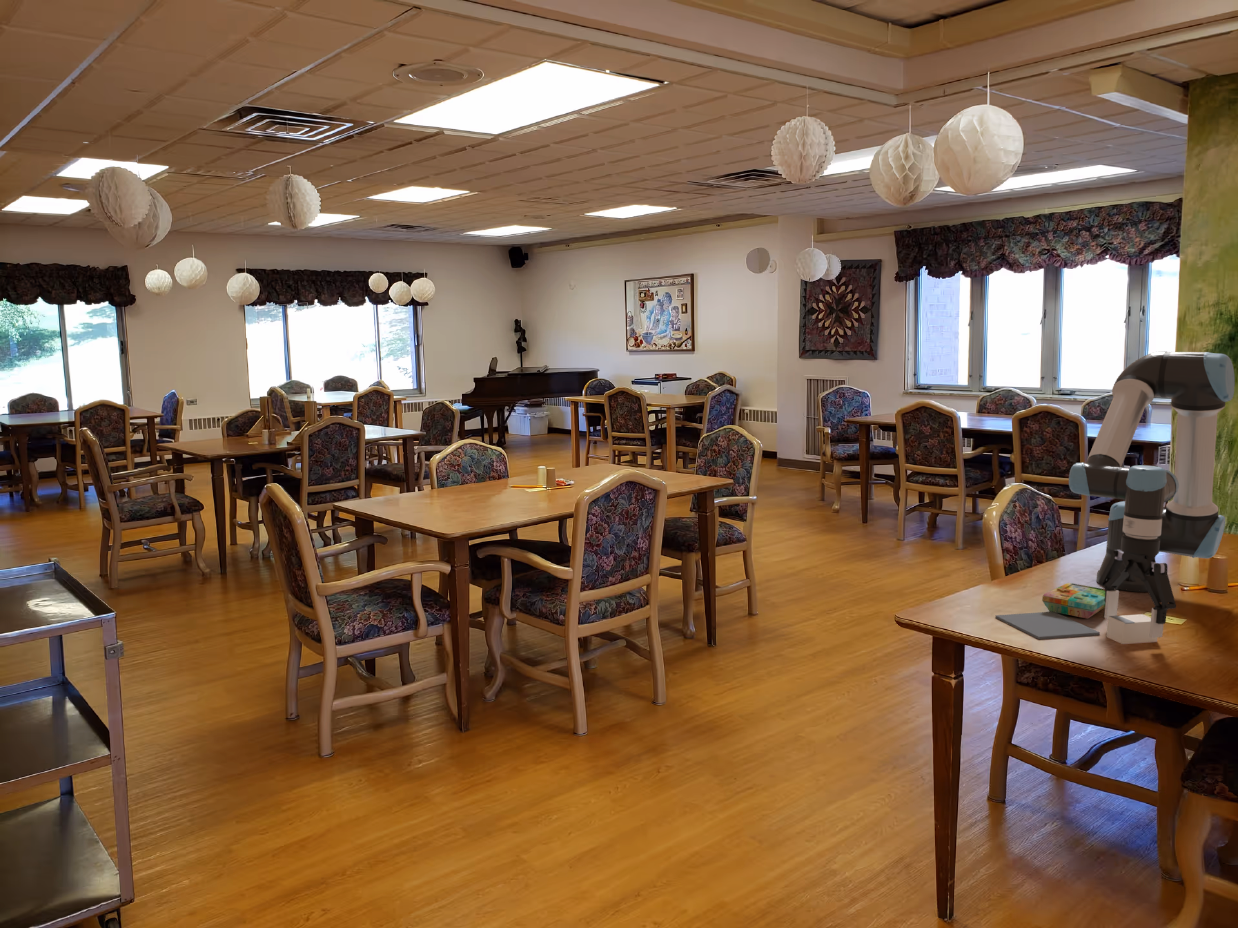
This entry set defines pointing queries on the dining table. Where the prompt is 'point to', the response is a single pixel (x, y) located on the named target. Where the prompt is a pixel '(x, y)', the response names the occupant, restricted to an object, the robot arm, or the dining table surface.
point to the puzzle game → (1075, 600)
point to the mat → (1047, 625)
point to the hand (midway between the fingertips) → (1132, 627)
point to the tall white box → (1129, 629)
